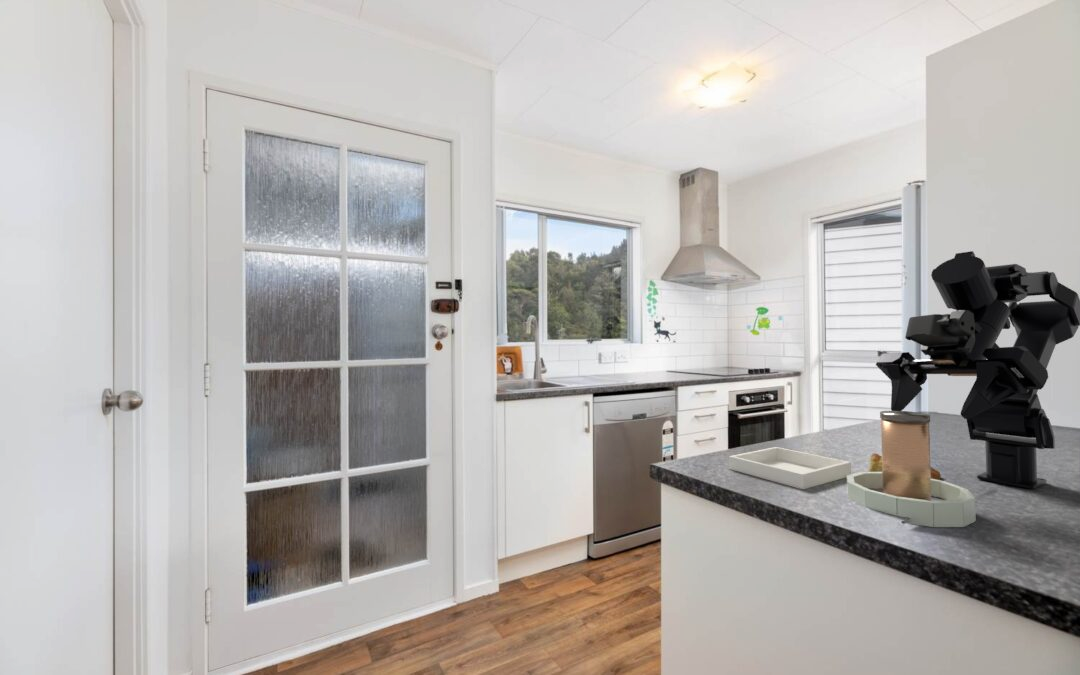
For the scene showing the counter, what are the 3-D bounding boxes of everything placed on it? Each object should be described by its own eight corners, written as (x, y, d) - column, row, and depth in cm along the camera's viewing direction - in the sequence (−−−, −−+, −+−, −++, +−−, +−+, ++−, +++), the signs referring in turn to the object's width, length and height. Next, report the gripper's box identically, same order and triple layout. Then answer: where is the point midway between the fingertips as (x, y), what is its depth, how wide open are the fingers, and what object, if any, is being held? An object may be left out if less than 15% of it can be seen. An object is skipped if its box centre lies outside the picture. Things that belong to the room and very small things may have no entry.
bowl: (876, 486, 72) (876, 467, 72) (991, 513, 60) (990, 490, 60) (828, 501, 66) (827, 480, 66) (945, 535, 54) (945, 510, 54)
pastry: (939, 480, 75) (939, 456, 75) (942, 491, 70) (941, 466, 70) (869, 470, 81) (869, 449, 81) (867, 480, 76) (866, 457, 76)
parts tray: (776, 462, 87) (776, 446, 87) (851, 480, 75) (850, 462, 75) (729, 473, 80) (728, 456, 80) (803, 494, 69) (802, 474, 69)
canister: (881, 494, 67) (879, 409, 67) (930, 501, 64) (928, 412, 64) (882, 504, 62) (880, 414, 63) (934, 513, 59) (932, 418, 59)
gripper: (876, 305, 76) (831, 377, 72) (1018, 282, 58) (967, 377, 54) (919, 349, 77) (877, 421, 74) (1069, 340, 59) (1023, 436, 56)
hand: (926, 414), depth 64 cm, fingers open, 9 cm apart
